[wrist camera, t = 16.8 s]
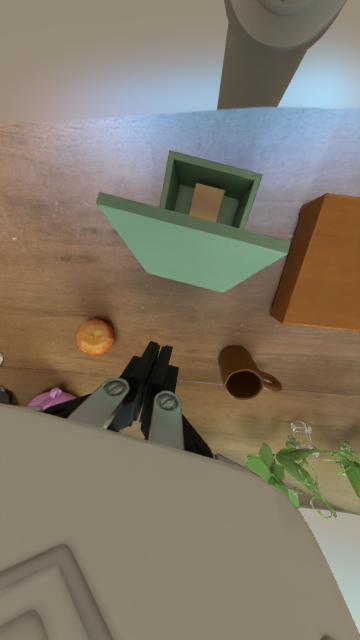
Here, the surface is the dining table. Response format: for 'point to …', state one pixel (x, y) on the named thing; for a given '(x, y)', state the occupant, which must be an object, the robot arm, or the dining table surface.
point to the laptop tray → (5, 397)
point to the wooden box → (323, 267)
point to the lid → (190, 244)
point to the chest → (196, 170)
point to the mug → (244, 375)
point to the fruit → (94, 336)
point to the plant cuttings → (300, 467)
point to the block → (206, 202)
